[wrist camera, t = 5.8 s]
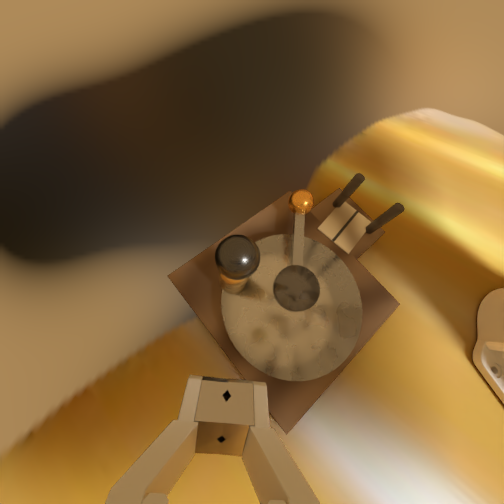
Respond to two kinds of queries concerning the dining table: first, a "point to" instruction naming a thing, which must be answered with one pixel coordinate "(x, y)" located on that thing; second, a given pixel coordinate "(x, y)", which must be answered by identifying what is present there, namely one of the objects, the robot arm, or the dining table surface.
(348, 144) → the dining table surface
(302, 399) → the stand
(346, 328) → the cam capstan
